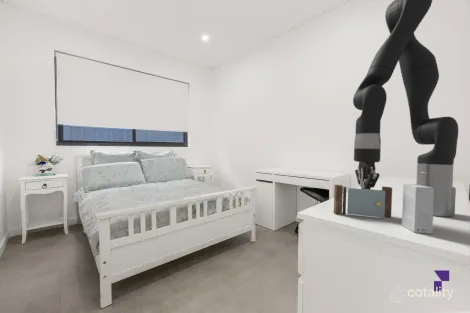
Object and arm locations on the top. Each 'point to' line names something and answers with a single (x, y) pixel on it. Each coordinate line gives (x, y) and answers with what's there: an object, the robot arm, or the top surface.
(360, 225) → the top surface
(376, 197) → the door
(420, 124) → the robot arm
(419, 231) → the skincare box
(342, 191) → the door frame
